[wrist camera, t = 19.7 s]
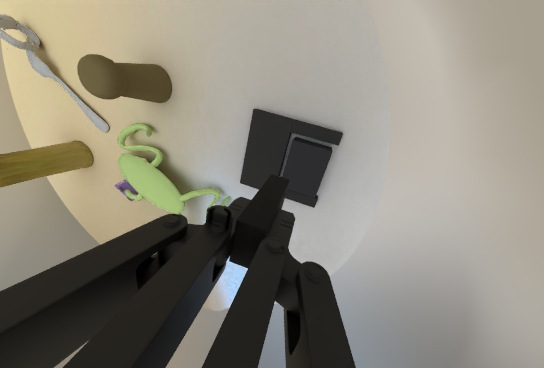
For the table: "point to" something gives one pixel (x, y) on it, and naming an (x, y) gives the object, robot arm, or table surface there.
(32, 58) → the fork
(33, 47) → the ring
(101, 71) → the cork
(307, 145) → the charcoal pad
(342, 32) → the table surface
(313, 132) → the black pad
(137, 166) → the figurine
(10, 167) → the vase
